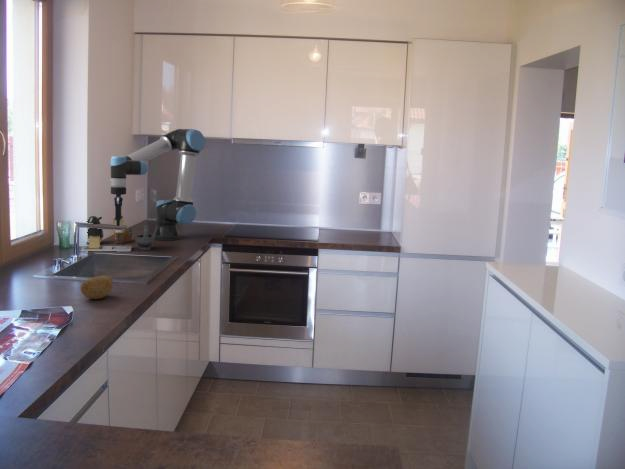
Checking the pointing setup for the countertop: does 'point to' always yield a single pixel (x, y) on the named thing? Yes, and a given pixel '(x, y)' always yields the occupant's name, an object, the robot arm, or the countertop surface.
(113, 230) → the nut block
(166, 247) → the countertop surface
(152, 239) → the mortar and pestle
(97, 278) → the potato
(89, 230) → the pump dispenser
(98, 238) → the pale yellow block
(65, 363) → the countertop surface
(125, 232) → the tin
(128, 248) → the rack rail
